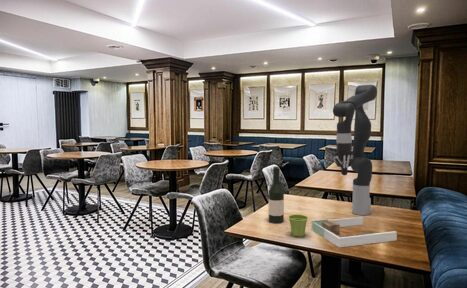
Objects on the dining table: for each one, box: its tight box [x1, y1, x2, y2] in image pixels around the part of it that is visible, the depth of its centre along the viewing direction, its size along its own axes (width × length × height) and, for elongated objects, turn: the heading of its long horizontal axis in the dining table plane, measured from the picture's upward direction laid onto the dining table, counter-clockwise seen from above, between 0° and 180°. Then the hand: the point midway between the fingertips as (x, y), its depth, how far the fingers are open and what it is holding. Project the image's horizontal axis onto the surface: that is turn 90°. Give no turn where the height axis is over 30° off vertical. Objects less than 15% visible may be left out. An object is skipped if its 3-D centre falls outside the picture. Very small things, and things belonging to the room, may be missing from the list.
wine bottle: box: [268, 166, 285, 225], centre depth 172 cm, size 8×8×30 cm
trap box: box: [310, 216, 398, 248], centre depth 152 cm, size 30×24×5 cm
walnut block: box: [322, 221, 341, 236], centre depth 155 cm, size 6×6×5 cm
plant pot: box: [287, 214, 309, 238], centre depth 152 cm, size 9×9×9 cm
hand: (344, 175), depth 165 cm, fingers closed
